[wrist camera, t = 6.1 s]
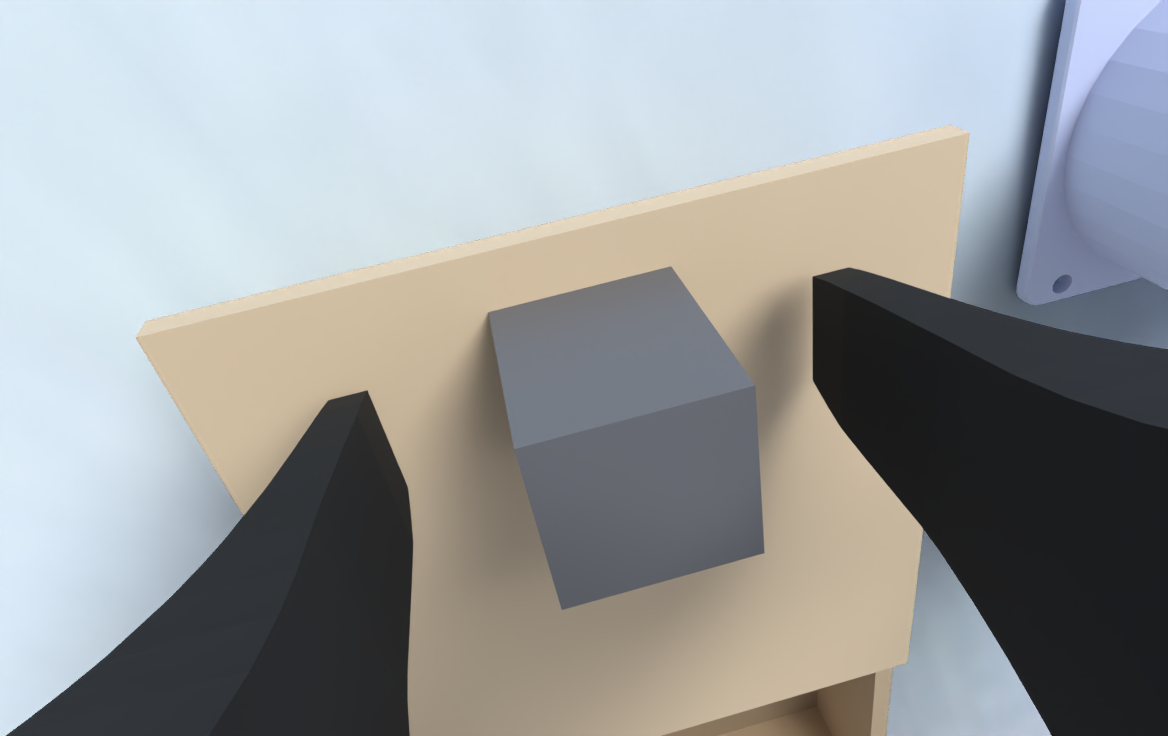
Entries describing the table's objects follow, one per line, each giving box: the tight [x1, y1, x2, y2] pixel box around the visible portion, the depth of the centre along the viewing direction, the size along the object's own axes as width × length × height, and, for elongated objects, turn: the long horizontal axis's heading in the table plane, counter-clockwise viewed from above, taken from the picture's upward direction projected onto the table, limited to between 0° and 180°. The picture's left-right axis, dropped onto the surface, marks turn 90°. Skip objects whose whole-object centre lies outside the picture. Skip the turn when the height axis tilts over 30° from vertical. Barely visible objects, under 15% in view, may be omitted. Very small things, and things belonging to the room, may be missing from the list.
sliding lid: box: [136, 125, 969, 736], centre depth 14 cm, size 13×14×4 cm
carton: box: [662, 667, 893, 736], centre depth 22 cm, size 13×14×4 cm
